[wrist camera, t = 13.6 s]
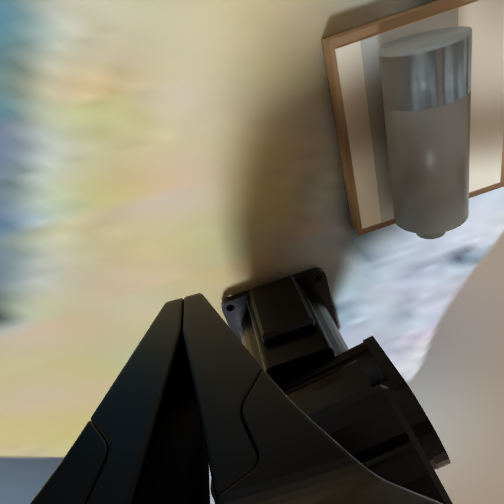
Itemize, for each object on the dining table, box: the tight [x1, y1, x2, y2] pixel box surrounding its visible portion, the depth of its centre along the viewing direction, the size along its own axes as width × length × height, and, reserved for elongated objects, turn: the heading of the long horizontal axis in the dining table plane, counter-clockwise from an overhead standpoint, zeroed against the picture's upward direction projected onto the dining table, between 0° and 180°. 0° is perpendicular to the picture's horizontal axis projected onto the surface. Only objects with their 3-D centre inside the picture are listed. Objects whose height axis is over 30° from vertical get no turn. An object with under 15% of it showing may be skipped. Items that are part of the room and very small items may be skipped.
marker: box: [378, 26, 472, 239], centre depth 18 cm, size 9×3×3 cm, turn 16°
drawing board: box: [321, 0, 504, 235], centre depth 19 cm, size 10×15×2 cm, turn 106°
